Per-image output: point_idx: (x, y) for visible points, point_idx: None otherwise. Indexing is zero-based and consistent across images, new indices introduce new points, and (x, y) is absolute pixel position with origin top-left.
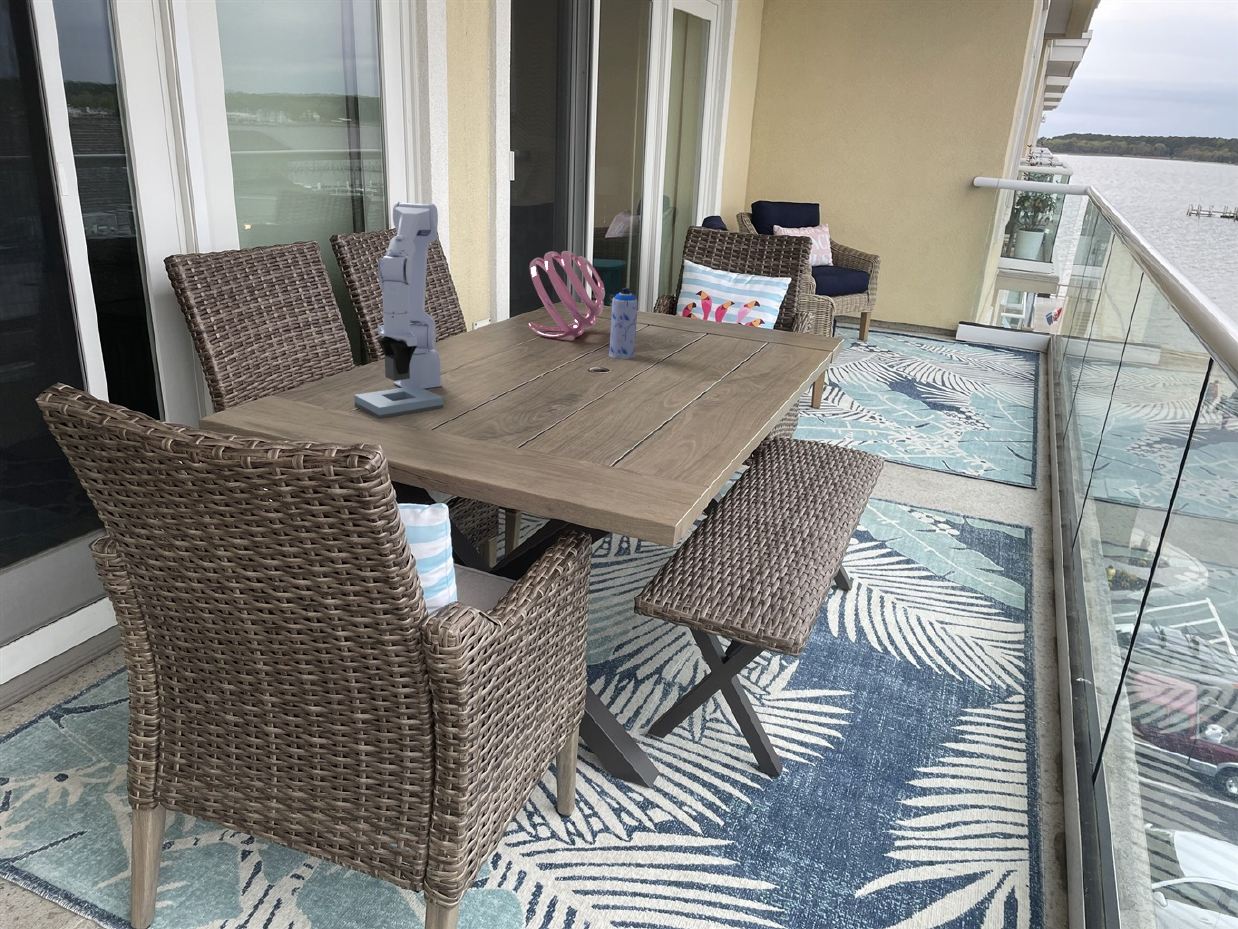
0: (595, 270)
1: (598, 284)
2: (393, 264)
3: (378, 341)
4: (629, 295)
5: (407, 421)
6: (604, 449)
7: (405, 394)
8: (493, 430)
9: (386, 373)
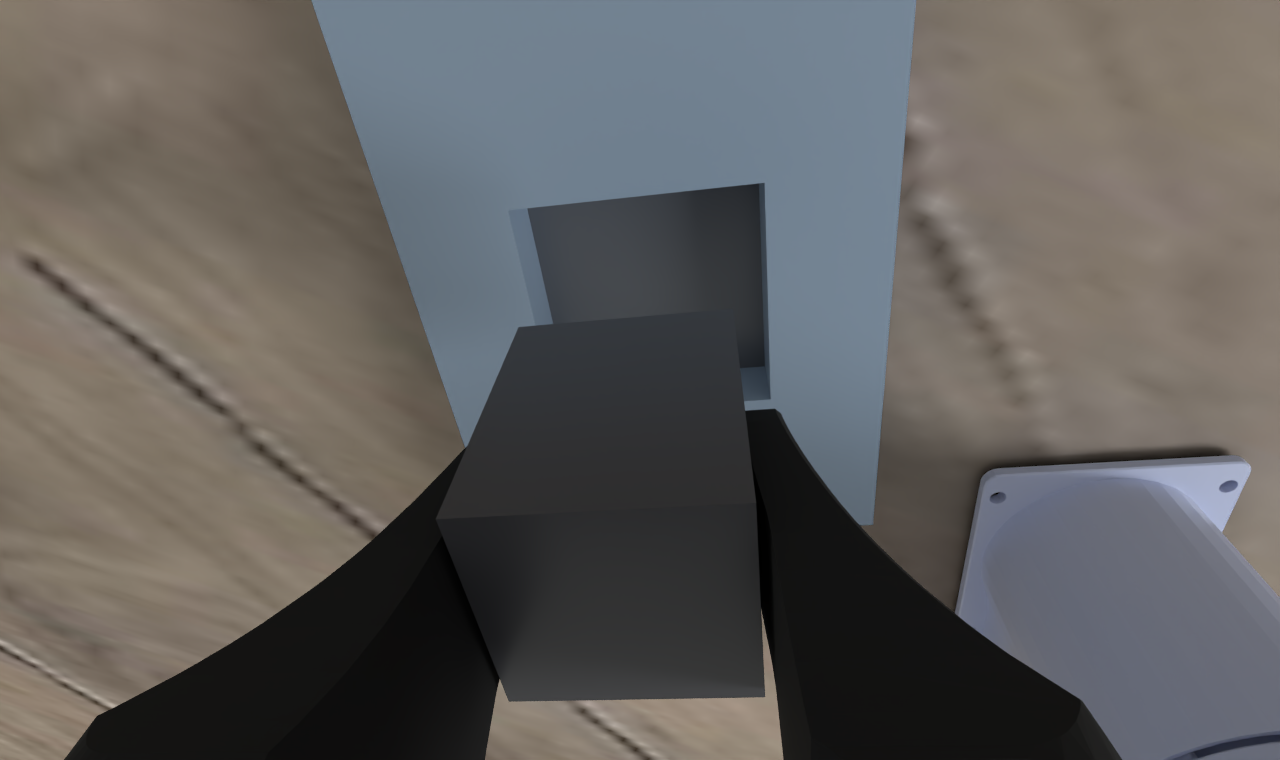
0: None
1: None
2: None
3: (1028, 710)
4: None
5: (247, 179)
6: None
7: (749, 388)
8: (37, 527)
9: (703, 337)
